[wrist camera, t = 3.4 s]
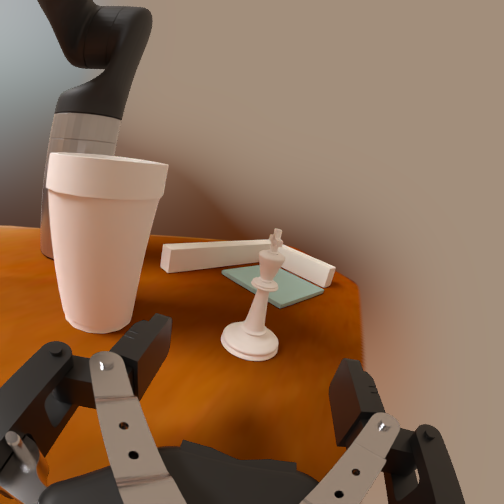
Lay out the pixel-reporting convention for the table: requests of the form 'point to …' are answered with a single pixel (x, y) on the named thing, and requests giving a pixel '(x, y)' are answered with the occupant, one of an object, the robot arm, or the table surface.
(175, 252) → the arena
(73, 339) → the table surface
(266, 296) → the chess piece
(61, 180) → the foam cup
